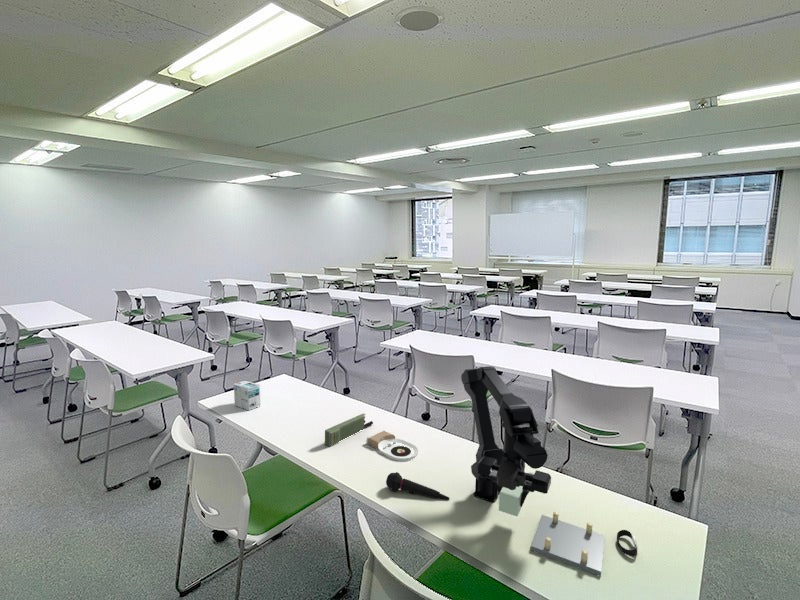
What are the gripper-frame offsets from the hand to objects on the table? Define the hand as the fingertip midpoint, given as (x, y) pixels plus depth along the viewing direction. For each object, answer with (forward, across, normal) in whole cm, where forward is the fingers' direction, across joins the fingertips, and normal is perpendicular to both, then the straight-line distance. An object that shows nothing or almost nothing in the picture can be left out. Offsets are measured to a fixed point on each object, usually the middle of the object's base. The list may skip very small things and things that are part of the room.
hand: (511, 502), depth 112 cm
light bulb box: (+7, -127, +18) cm, 129 cm away
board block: (+1, 0, 0) cm, 1 cm away
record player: (+7, -49, +19) cm, 53 cm away
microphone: (+7, -29, -1) cm, 30 cm away
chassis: (+6, +15, 0) cm, 16 cm away
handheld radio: (+7, -69, +20) cm, 72 cm away
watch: (+7, +28, +7) cm, 30 cm away
